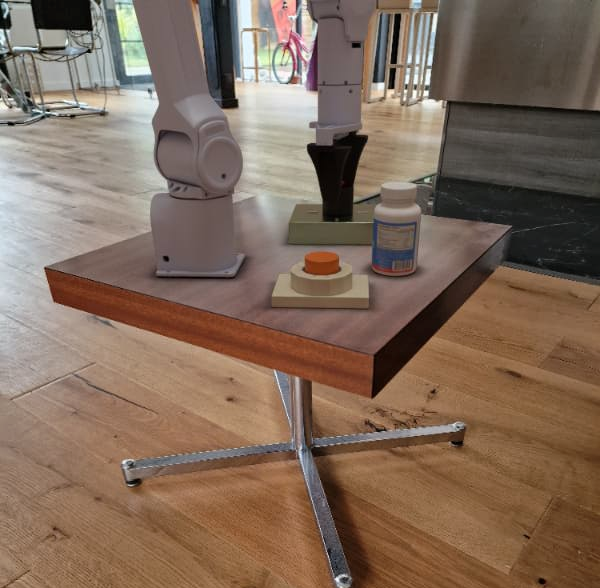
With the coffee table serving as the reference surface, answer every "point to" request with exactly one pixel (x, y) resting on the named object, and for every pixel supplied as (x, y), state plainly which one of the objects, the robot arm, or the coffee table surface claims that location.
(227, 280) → the coffee table surface
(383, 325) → the coffee table surface
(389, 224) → the pill bottle
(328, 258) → the button
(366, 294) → the switch block
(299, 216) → the panel
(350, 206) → the dial
